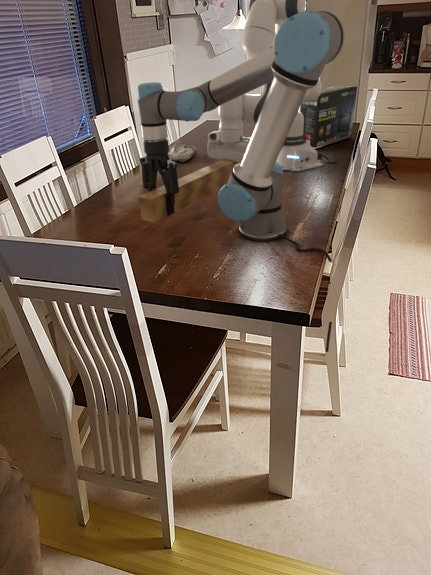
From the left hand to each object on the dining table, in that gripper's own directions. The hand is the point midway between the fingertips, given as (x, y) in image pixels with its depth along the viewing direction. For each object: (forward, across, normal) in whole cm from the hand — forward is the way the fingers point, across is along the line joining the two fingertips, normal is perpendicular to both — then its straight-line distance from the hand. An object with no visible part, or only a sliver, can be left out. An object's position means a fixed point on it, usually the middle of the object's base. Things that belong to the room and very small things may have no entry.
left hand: (163, 212), depth 149 cm
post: (0, 0, -20) cm, 20 cm away
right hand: (-2, +1, -40) cm, 40 cm away
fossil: (+6, +55, -71) cm, 90 cm away
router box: (+7, +4, -132) cm, 133 cm away
